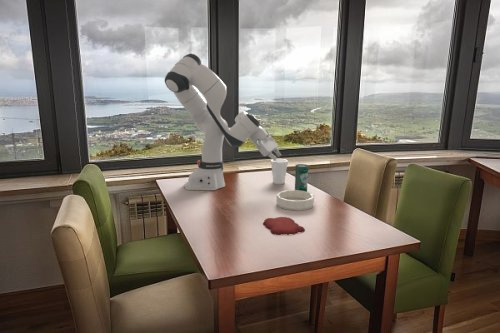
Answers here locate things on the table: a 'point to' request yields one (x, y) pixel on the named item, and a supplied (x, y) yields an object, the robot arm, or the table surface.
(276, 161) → the foam cup
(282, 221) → the red flat splat
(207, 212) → the table surface
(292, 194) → the bowl
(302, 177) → the can
